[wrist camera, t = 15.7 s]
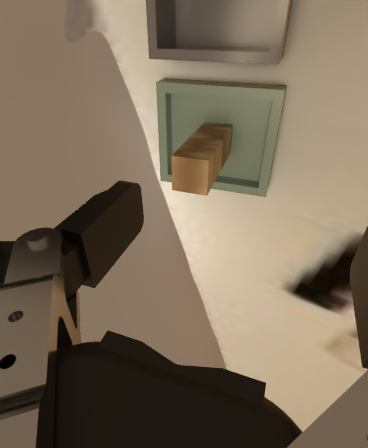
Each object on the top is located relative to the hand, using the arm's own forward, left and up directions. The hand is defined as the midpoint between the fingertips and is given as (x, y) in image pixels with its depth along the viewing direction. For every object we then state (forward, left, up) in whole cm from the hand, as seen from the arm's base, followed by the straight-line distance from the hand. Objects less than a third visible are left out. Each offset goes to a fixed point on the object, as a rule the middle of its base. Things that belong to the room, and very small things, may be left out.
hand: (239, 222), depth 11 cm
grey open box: (+8, -6, -32) cm, 34 cm away
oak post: (+8, +8, -31) cm, 33 cm away
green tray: (+8, +8, -32) cm, 34 cm away
